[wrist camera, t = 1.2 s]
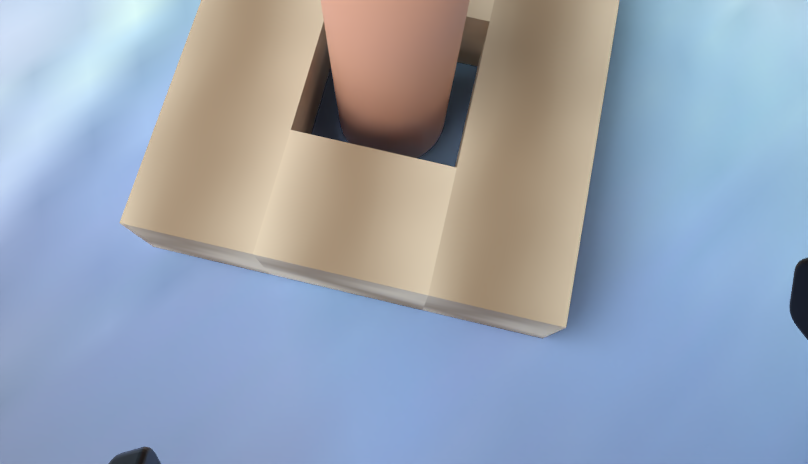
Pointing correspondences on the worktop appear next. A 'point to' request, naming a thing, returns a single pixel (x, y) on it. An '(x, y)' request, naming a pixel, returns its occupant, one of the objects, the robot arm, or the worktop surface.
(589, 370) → the worktop surface
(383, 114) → the terracotta peg
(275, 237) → the pocket block
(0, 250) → the worktop surface
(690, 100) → the worktop surface
